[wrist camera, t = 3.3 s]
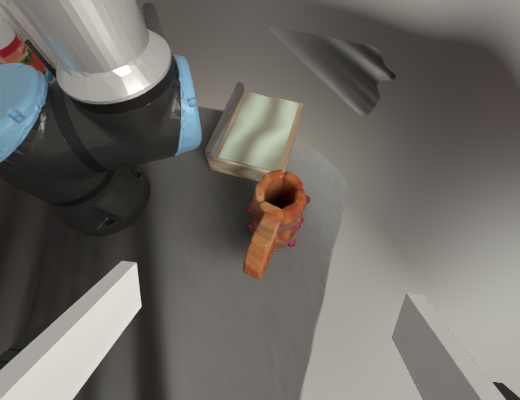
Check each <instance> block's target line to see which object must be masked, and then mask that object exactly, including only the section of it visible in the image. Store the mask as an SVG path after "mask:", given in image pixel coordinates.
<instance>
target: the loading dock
mask: <svg viewBox="0 0 520 400" xmlns="http://www.w3.org/2000/svg"><path fill="white" fill-rule="evenodd" d="M302 109H303V103H298V102H293V101H288V100H283V99H278V98H273V97H269V96H264V95H258V94H254V93H249V92H244V86H243V83H239V82H238V83H237V85H236V87H235V89H234V91H233V93H232V95H231V97H230V99H229V101H228V103H227V105H226V108H225V110H224V112H223V114H222V116H221V118H220V120H219V122H218V124H217V126H216V128H215V130H214V132H213V134H212V136H211V138H210V141H209V143H208V145H207V147H206V149H205V154H206V157H207V160H208V163H209V165H210V168H211V170H214V171H218V172H222V173H226V174H230V175H234V176H238V177H242V178H246V179H249V180H253V181H257V182H259V181H261V180H262V178H263V177H264V175H265V174H267V173H269V172H271V171H275V170H280V169H281V170H282V172H283V173H285V169H286V166H287V163H288V159H289V156H290V152H291V149H292V146H293V142H294V139H295V136H296V132H297V129H298V125H299V122H300V119H301V114H302Z"/></svg>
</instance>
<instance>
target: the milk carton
mask: <svg viewBox="0 0 520 400" xmlns="http://www.w3.org/2000/svg"><path fill="white" fill-rule="evenodd" d="M0 6H1V7H2V8H3V9H4V11H5V12H6V13H7V14H8V15H9V17H10V18H11V19H12V20H13V21H14V22H15V24H16V25H17V26H18V27H19V28H20V30H21V31H22V32H23V33H24V34H25V36H26V37H27V38H28V39H29V40H30V42H31V43H32V44H33V45H34V46H35V48H36V49H37V50H38V51H39V52H40V53H41V55H42V56H43V57H44V58H45V59H46V61H47V62H48V63H49V64H50V65H51V66H52V67H53V68H54V69H56V70H57V65H58V60H59V59H58V58H57V56H56V55H55V54H54V53H53V51H52V50H51V49H50V48H49V46H48V45H47V44H46V43H45V41H44V40H43V39H42V38H41V36H40V35H39V34H38V33H37V31H36V30H35V29H34V27H33V26H32V25H31V24H30V22H29V21H28V20H27V19H26V17H25V16H24V15H23V14H22V12H21V11H20V10H19V9H18V7H17V6H16V5H15V4H14V2H13V1H12V0H0Z"/></svg>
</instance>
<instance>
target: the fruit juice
mask: <svg viewBox="0 0 520 400" xmlns="http://www.w3.org/2000/svg"><path fill="white" fill-rule="evenodd" d="M7 63H23V64H25V65H29V66H32V67H34V68H35V69H36V70H38V71H40V72H42V73H43V74H44V75H45V77H46V78H47V80H48V81H54V80H57V79H56V78H55V77H54V76H53V74H52V73H51V72H50V71H49V70H48V69H47V68H46V66H45V65H44V64H43V63H42V62H41V61H40V59H39V58H38V57H37V56H36V55H35V54H34V53H33V51H32V50H31V49H30V48H29V47H28V46H27V44H26V43H25V42H24V41H23V40H22V39H21V38H20V36H19V35H18V34H17V33H16V32H15V31H14V29H13V28H12V27H11V26H10V25H9V24H8V23H7V22H6V21H5V20H4V19H3V18H2V17H1V16H0V65H2V64H7Z"/></svg>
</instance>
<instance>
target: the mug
mask: <svg viewBox="0 0 520 400" xmlns="http://www.w3.org/2000/svg"><path fill="white" fill-rule="evenodd" d="M302 187H303V184H302V182H301V180H300V179H299V178H298V177H297V176H296V175H294V174H293V173H291V172H286V173H283V172H282V170H281V169H280V170H275V171H271V172H269V173H267V174H265V175H264V177H263V178H262V180H261V181H259V182H258V183H257V184H256V187H255V190H254V192H253V194H252V197H251V203H250V204H248V206H247V207H246V210H247V211H248V212H250V213H251V214H252V219H251V223H250V224H248V225H247V228H248V230H250V231H252V234H253V236H252V238H251V240H250V243H249V246H248V249H247V252H246V254H245V260H244V267H243V272H244V273H245V274H247V275H250V276H252V277H254V278H257V279H261V278H262V276H263V274H264V272H265V270H266V268H267V265H268V263H269V260H270V257H271V254H272V252H273V251H274V250H280V249H282V248H284V247H287V246H290V247H293V246H295V240H294V239H295V238H296V236H297V234H298V231H299V228H300V224H301V223H303V221H304V219H303V215H304V212H305V209H306V204H308V203H309V202H310V197H309V196H307V195H305V191H304V190H303V189H302Z"/></svg>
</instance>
